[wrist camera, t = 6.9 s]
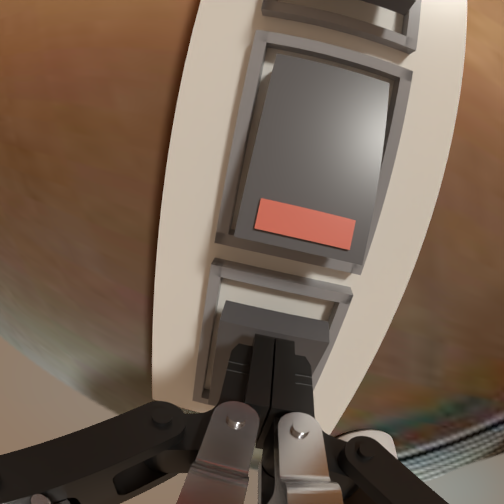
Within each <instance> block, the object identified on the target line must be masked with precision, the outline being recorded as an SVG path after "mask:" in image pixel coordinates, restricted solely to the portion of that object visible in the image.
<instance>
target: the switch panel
mask: <svg viewBox="0 0 504 504" xmlns="http://www.w3.org/2000/svg"><path fill="white" fill-rule="evenodd" d="M466 28H467V0H416V2H415V3H414V4H413V6H412V7H411V8H410V10H409V11H408V12H407V14H406V15H405V16H404V15H402V14H399V13H397V12H394V11H391V10H388V9H386V8H383V7H380V6H377V5H374V4H371V3H367V2H364V1H361V0H201V2H200V5H199V9H198V13H197V16H196V20H195V24H194V28H193V32H192V36H191V40H190V44H189V48H188V52H187V57H186V61H185V66H184V70H183V75H182V80H181V85H180V90H179V95H178V100H177V105H176V110H175V116H174V122H173V127H172V133H171V139H170V146H169V152H168V159H167V166H166V173H165V181H164V188H163V196H162V205H161V214H160V224H159V234H158V245H157V257H156V271H155V286H154V306H153V334H152V399H154V400H157V401H165V402H169V403H172V404H174V405H176V406H177V407H181V408H184V409H188V410H192V411H196V412H200V413H204V412H207V411H209V410H211V409H213V408H214V407H215V406H213V405H209V404H208V400H209V393H210V385H211V378H212V371H213V363H214V356H215V349H216V342H217V335H218V328H219V321H220V318H221V314H222V311H223V308H224V305H225V301H226V300H228V301H232V302H237V303H241V304H245V305H250V306H254V307H259V308H264V309H268V310H273V311H278V312H283V313H287V314H292V315H297V316H302V317H307V318H312V319H317V320H323V321H328V322H329V340H330V343H329V345H328V347H327V349H326V351H325V353H324V354H323V356H322V358H321V360H320V362H319V364H318V365H317V367H316V369H315V371H314V373H313V375H312V384H313V385H312V387H313V398H314V414H315V419H316V420H317V421H318V423H319V424H320V426H321V428H322V430H323V431H324V432H325V433H327V434H328V435H330V433H331V432H332V430H333V429H334V427H335V425H336V424H337V422H338V421H339V419H340V417H341V416H342V414H343V412H344V411H345V409H346V407H347V406H348V404H349V402H350V401H351V399H352V397H353V395H354V394H355V392H356V390H357V388H358V386H359V385H360V383H361V381H362V379H363V377H364V375H365V374H366V372H367V370H368V368H369V366H370V364H371V362H372V360H373V358H374V356H375V354H376V352H377V350H378V348H379V346H380V344H381V342H382V340H383V338H384V336H385V334H386V332H387V330H388V327H389V325H390V323H391V321H392V319H393V317H394V314H395V312H396V310H397V307H398V305H399V303H400V300H401V298H402V296H403V293H404V291H405V289H406V286H407V284H408V281H409V279H410V276H411V273H412V271H413V268H414V266H415V263H416V260H417V258H418V255H419V252H420V249H421V247H422V244H423V241H424V238H425V235H426V232H427V229H428V226H429V223H430V220H431V217H432V213H433V210H434V207H435V203H436V200H437V197H438V193H439V189H440V186H441V182H442V178H443V175H444V171H445V167H446V163H447V158H448V154H449V150H450V145H451V141H452V136H453V131H454V126H455V121H456V115H457V109H458V103H459V97H460V90H461V83H462V75H463V66H464V56H465V44H466ZM276 54H283V55H288V56H293V57H298V58H302V59H307V60H311V61H315V62H320V63H324V64H328V65H331V66H335V67H339V68H343V69H346V70H350V71H353V72H356V73H360V74H363V75H366V76H369V77H372V78H376V79H379V80H381V81H384V82H387V83H390V85H389V98H388V109H387V120H386V129H385V138H384V146H383V153H382V161H381V168H380V174H379V181H378V187H377V193H376V199H375V205H374V210H373V216H372V221H371V226H370V231H369V236H368V241H367V246H366V251H365V255H364V260H363V264H362V265H358V264H354V263H350V262H345V261H341V260H336V259H332V258H328V257H323V256H319V255H314V254H310V253H306V252H301V251H297V250H292V249H288V248H283V247H279V246H274V245H270V244H265V243H261V242H256V241H252V240H247V239H242V238H238V237H234V233H235V229H236V224H237V220H238V215H239V211H240V206H241V202H242V197H243V193H244V188H245V184H246V179H247V175H248V171H249V166H250V162H251V158H252V153H253V149H254V145H255V141H256V136H257V132H258V128H259V124H260V119H261V115H262V111H263V107H264V103H265V99H266V94H267V90H268V86H269V82H270V78H271V74H272V70H273V66H274V62H275V58H276Z"/></svg>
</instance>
